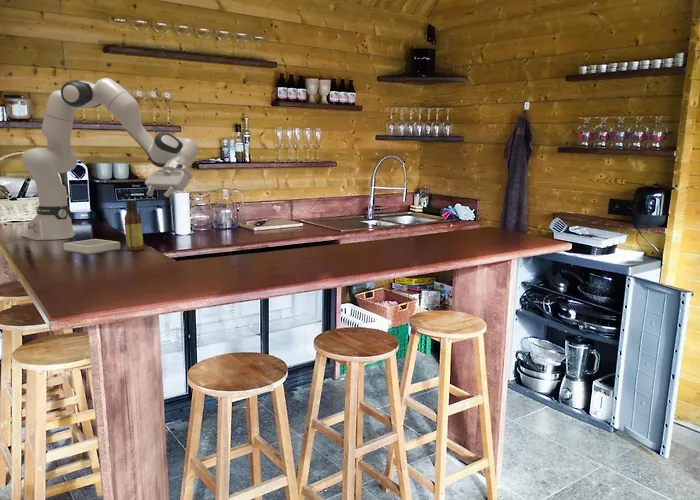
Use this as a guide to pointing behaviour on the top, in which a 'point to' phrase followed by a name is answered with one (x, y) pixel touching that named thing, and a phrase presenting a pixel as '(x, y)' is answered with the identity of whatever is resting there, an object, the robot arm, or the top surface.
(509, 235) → the top surface
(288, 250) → the top surface
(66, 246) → the tray
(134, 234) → the sauce bottle
